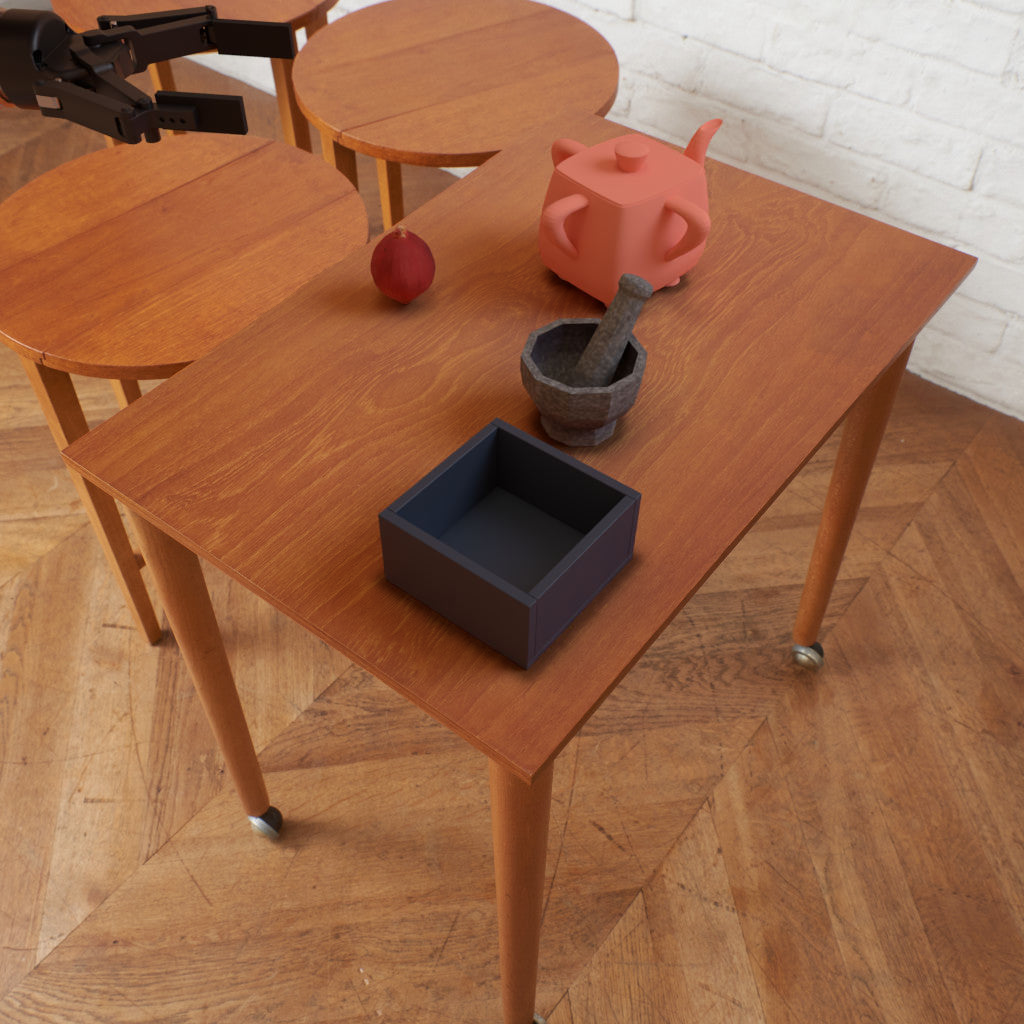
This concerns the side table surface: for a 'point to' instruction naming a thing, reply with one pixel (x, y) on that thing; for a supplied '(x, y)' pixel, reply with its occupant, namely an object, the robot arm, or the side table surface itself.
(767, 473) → the side table surface
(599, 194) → the teapot
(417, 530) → the dark blue open box
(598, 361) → the mortar and pestle
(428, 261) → the onion
